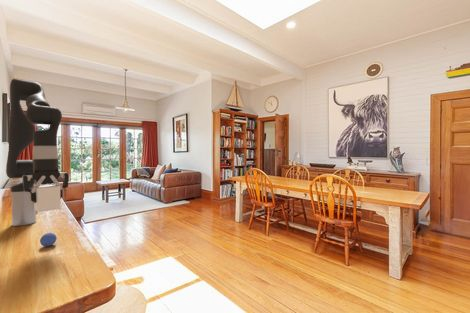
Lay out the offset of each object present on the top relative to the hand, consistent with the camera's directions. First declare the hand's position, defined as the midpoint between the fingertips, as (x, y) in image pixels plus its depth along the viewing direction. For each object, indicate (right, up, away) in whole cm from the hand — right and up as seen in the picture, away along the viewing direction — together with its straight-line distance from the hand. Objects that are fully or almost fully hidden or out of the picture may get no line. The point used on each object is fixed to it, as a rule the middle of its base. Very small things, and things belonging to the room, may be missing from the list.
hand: (47, 200), depth 89 cm
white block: (0, -3, 0) cm, 3 cm away
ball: (0, -15, 0) cm, 15 cm away
